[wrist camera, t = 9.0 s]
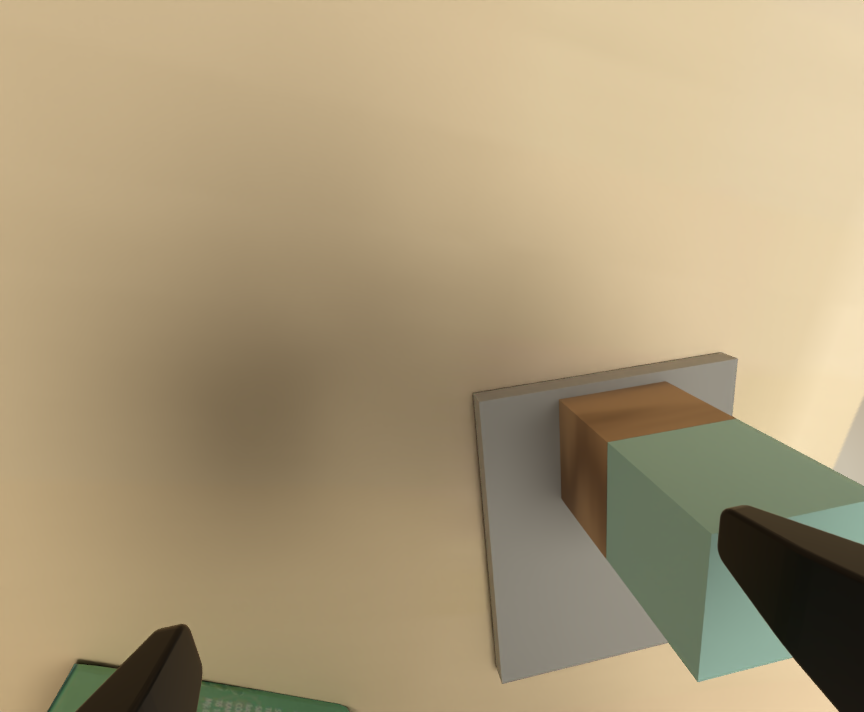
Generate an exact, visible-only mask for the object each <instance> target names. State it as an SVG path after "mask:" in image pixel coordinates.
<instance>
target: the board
mask: <svg viewBox="0 0 864 712" xmlns="http://www.w3.org/2000/svg"><path fill="white" fill-rule="evenodd" d="M737 361H738V359H737V358H735V357H732V356H729V355H727V354H724V353H715V354H709V355H703V356H697V357H690V358H684V359H678V360H672V361H666V362H660V363H654V364H648V365H642V366H636V367H630V368H624V369H618V370H612V371H606V372H600V373H593V374H587V375H581V376H575V377H569V378H563V379H557V380H551V381H545V382H539V383H533V384H527V385H521V386H515V387H509V388H502V389H496V390H490V391H484V392H478V393H473V398H474V409H475V421H476V433H477V445H478V456H479V468H480V480H481V491H482V503H483V515H484V526H485V538H486V550H487V562H488V573H489V585H490V597H491V608H492V620H493V632H494V644H495V655H496V667H497V670H498V673H499V676H500V679H501V682H502V684H504V683H508V682H512V681H516V680H520V679H524V678H528V677H532V676H536V675H540V674H544V673H548V672H552V671H556V670H560V669H564V668H568V667H572V666H576V665H580V664H584V663H589V662H593V661H597V660H601V659H605V658H609V657H613V656H617V655H621V654H625V653H629V652H633V651H637V650H641V649H645V648H649V647H653V646H657V645H661V644H665V643H668V641H667V640H666V639H665V637H664V636H663V635H662V633H661V632H660V631H659V629H658V628H657V627H656V625H655V624H654V623H653V621H652V620H651V618H650V617H649V616H648V614H647V613H646V612H645V610H644V609H643V608H642V606H641V605H640V604H639V602H638V601H637V600H636V598H635V597H634V596H633V594H632V593H631V592H630V590H629V589H628V588H627V586H626V585H625V584H624V582H623V581H622V579H621V578H620V577H619V575H618V574H617V573H616V571H615V570H614V569H613V567H612V566H611V565H610V563H609V562H608V561H607V559H606V558H605V557H604V556H603V554H602V553H601V552H600V550H599V549H598V548H597V546H596V545H595V544H594V542H593V541H592V539H591V538H590V537H589V535H588V534H587V533H586V531H585V530H584V529H583V527H582V526H581V525H580V523H579V522H578V521H577V519H576V518H575V517H574V515H573V514H572V513H571V511H570V510H569V509H568V507H567V506H566V504H565V503H564V502H563V500H562V499H561V465H560V426H559V399H564V398H570V397H576V396H582V395H588V394H594V393H599V392H605V391H611V390H617V389H623V388H629V387H635V386H641V385H646V384H652V383H658V382H664V381H666V382H668V383H670V384H672V385H674V386H676V387H678V388H679V389H681V390H683V391H685V392H687V393H689V394H691V395H693V396H695V397H696V398H698V399H700V400H702V401H704V402H706V403H708V404H710V405H712V406H713V407H715V408H717V409H719V410H721V411H723V412H725V413H727V414H729V415H730V416H732V412H733V402H734V392H735V381H736V371H737Z"/></svg>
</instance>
